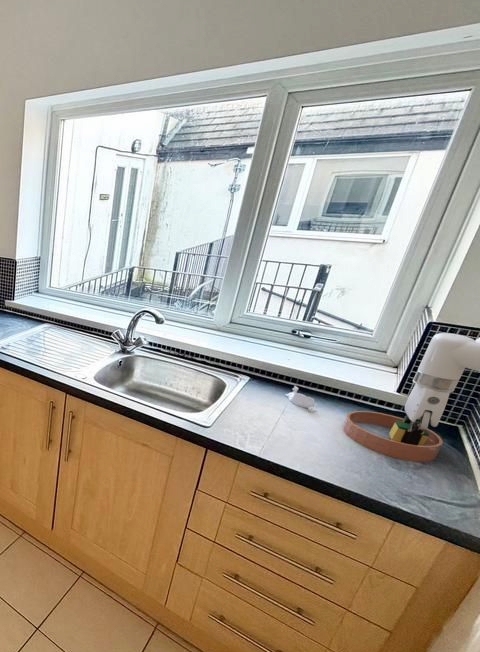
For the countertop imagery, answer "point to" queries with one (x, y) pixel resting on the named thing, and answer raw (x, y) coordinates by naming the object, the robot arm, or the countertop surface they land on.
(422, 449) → the terracotta oval ring
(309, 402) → the wrapped candy
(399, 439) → the sponge
